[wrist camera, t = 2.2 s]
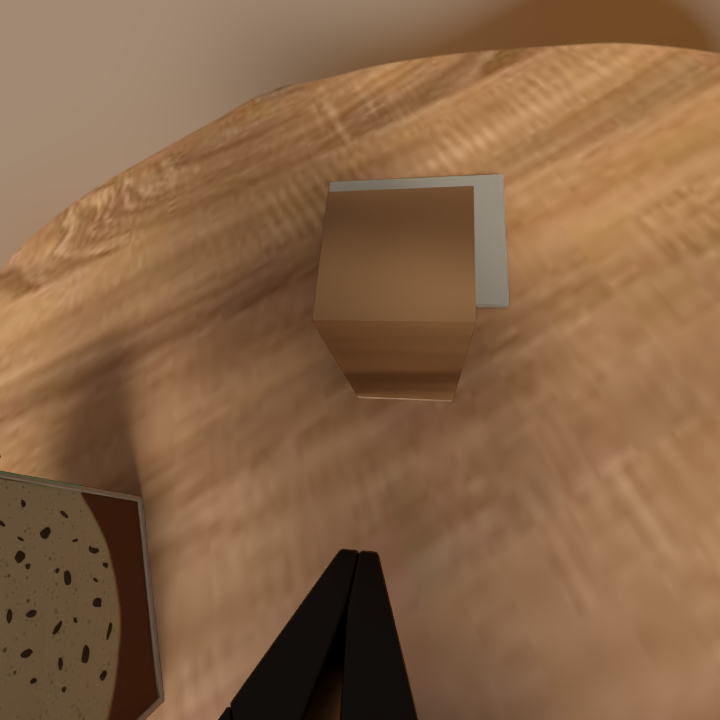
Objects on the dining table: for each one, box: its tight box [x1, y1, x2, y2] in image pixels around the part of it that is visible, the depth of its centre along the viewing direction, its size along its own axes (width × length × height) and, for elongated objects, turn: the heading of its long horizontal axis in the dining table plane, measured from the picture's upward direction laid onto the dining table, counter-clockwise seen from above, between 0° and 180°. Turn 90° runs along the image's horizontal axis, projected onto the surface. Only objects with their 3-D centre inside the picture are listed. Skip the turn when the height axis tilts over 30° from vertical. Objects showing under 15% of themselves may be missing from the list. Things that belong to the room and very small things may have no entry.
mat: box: [329, 174, 509, 308], centre depth 25 cm, size 9×11×1 cm
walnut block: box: [312, 186, 476, 402], centre depth 18 cm, size 5×5×10 cm
